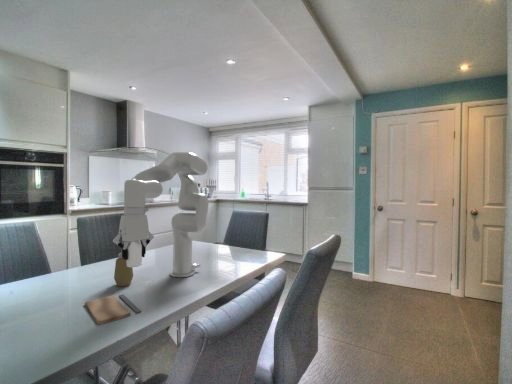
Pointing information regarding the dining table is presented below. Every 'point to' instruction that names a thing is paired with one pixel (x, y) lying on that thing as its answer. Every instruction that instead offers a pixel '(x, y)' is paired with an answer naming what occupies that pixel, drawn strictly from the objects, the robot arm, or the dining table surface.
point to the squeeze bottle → (122, 272)
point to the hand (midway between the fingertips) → (133, 257)
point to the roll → (134, 254)
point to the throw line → (130, 303)
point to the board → (106, 309)
